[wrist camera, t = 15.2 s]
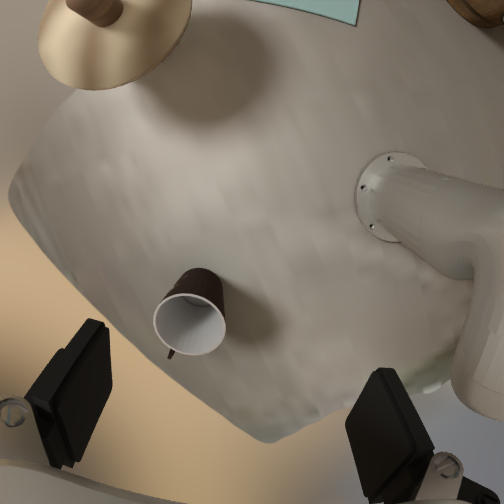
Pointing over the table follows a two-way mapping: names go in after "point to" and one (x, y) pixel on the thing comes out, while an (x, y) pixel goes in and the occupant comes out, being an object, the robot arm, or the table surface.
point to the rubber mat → (323, 8)
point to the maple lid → (109, 39)
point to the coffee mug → (192, 314)
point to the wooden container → (480, 11)
